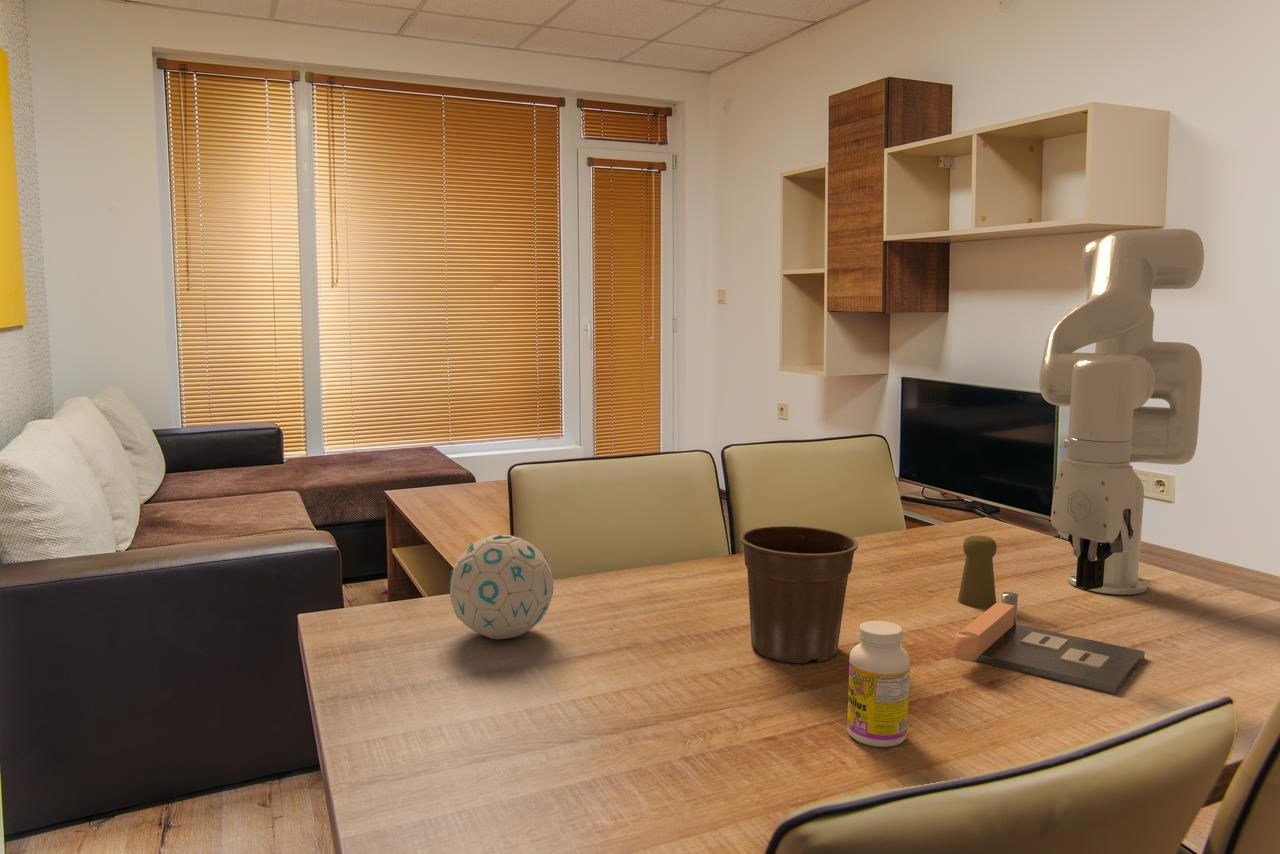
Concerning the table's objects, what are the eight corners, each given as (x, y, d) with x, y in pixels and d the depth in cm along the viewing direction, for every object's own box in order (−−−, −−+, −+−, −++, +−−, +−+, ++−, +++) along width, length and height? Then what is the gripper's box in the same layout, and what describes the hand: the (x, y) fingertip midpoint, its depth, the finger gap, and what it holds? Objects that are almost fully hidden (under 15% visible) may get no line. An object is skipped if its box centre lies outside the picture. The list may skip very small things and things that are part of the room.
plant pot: (860, 636, 140) (864, 530, 138) (846, 677, 125) (850, 558, 123) (751, 624, 145) (753, 521, 143) (726, 661, 130) (728, 547, 128)
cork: (999, 608, 153) (1003, 542, 151) (960, 606, 154) (963, 540, 153) (993, 597, 159) (996, 533, 157) (955, 595, 160) (958, 531, 158)
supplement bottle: (839, 724, 111) (842, 618, 109) (894, 722, 111) (898, 616, 110) (857, 750, 104) (861, 638, 103) (915, 748, 105) (920, 636, 103)
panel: (998, 626, 144) (1000, 588, 144) (1144, 658, 132) (1147, 616, 131) (959, 656, 132) (961, 615, 131) (1115, 694, 119) (1118, 648, 119)
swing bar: (994, 621, 141) (995, 601, 140) (1015, 625, 139) (1016, 605, 139) (950, 657, 126) (951, 636, 126) (973, 663, 124) (974, 641, 124)
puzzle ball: (430, 635, 140) (427, 536, 138) (509, 611, 150) (508, 519, 149) (494, 662, 129) (492, 555, 127) (575, 634, 140) (574, 535, 138)
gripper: (1033, 445, 130) (1025, 575, 133) (1125, 462, 117) (1115, 606, 119) (1074, 442, 133) (1066, 569, 135) (1169, 459, 119) (1158, 600, 122)
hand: (1089, 586), depth 127 cm, fingers closed
